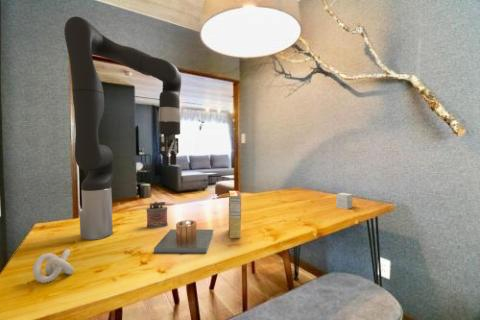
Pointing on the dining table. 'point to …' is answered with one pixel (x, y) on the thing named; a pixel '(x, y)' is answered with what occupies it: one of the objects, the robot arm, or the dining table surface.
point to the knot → (49, 268)
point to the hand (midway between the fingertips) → (169, 165)
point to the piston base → (174, 246)
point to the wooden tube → (186, 231)
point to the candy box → (234, 214)
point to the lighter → (156, 215)
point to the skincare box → (344, 200)
